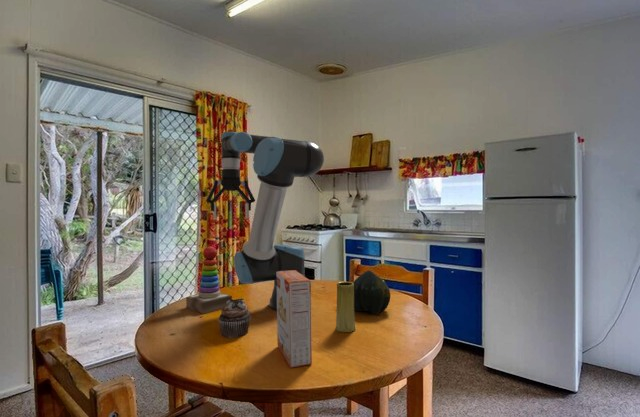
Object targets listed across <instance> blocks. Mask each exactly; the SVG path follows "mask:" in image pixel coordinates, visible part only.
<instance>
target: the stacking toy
mask: <svg viewBox="0 0 640 417" xmlns="http://www.w3.org/2000/svg"><path fill="white" fill-rule="evenodd" d="M202 255H203V257H204V260H203V261H202V264H203V265H202V267H201V269H202V271H201V276H200V280H201V281H200V282H199V285H200V286H199V287H198V294H197V295H199V297H202V298H213V297H217V296H219V295H220V293H221V290H220V285H219V284H220V280H219V275H218V274H219V271H218V265H217V263H218V260H217V259H216V257H217V256H218V250H217V249H216V247H213V246H206V247H205V248H204V249H203V252H202Z"/></svg>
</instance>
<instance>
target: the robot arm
mask: <svg viewBox="0 0 640 417" xmlns="http://www.w3.org/2000/svg"><path fill="white" fill-rule="evenodd" d="M220 143H221V144H220V145H221V146H220V147H221V168H222V170H221V180H218V179H214V181H213V186H212V187H211V190H210V192H209V194H208V196H207V197H206V199H205V201H206V202H207V203H209V204H210V212H213V215H212V217H213V218H212V219H213V220H217V203H215V202H216V201H218V199H219V198H220V197H221V196H222V195H223V193H224V192H225V191H227V192H230V191H231V192H238V194H239V195H240V196H241V197H242V199H244V200H245V202H246V203H245V204H244V206H245V207H244V208H245V219H247V220H248V219H249V217H250V216H249V215H250V214H249V212H250V211H252V203H255V202H256V205H255V208H254V213H253V217H252V218H253V219H252V222H251V227H250V232H249V236H248V241H246V242H244V244H243V245H242V250H241V251H237V252H235V253H234V256H233V257H234V262H233V263H234V269H235V274H236V277H237V279H238V280H239V282H240V283H241V284H243V285H248V284H250V285H253V284H257V283H265V282H272V281H273V289H272V293H271V297H270V299H269V307H270V308H271V309H273V310H276V311H277V283H276V272H278V271H291V270H296V271H297V272H299V273H300V274H301V275H303V276H304V277H305V259H306V258H305V250H304V248H303V247H301V246H297V245H291V244H288V245H287V244H274V243H275V237H276V233H277V230H278V226H279V221H280V218H281V213H282V209H283V205H284V200H285V197H286V194H287V189H288V188H290V187H292V186H293V183H294V181H295V180H294V179H295V178H306V177H307V178H308V177H311V176H314V175H315V174H317V173H318V172H319V171H320V170H321V169H322V167H323V165H324V162H325V156H324V152H323V150H322V149H321V148H320V147H319V145H317V144H315V143H314V142H311V141H307V140H297V139H289V138H287V139H286V138H279V137H276V136H266V135H257V134H256V135H255V134H249V133H248V132H245V131H239V132H236V131H224V132H222V133H221V140H220ZM241 153H243V154H253V157H252V161H253V164H252V166H253V167H252V168H253V170H254V173H255V174H256V176H257V177H256V178H257V179H258V181H259V182H260V185H259V189H258V194H257V199H255V196H254V195H253V193H252V191H251V189H250V187H249V182H248V180H241V170H240V168H241V163H240V162H241V161H240V159H241V158H240V156H241ZM219 185H221V186H222V187H221V188H220V190H219V191H218V192H217V194H216V195H214V194H215V191H216V189H217V187H218V186H219ZM241 186H243V187H244V190H245V192H246V194H247V195H248V196H247V195H246V194H245V193H244V191H243V190H242V189H241ZM213 195H214V197H213Z"/></svg>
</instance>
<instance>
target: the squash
mask: <svg viewBox="0 0 640 417" xmlns="http://www.w3.org/2000/svg"><path fill="white" fill-rule="evenodd" d="M352 283H353V284H354V311H356V312H364V311H366V312H370V313H372V314H373V315H377V314H379V313H382V312H384V311H385V310H386V309H387V308H388V307H389V305H390V300H391V291H390V288H389V286H388V285H387V283H386V282H385V281H384V280H383V279H382V278H380V277H379V276H378V275H377V274H376V273H375V272H374V271H371V270H370V269H368V270H367V271H365V272H363V273H361V274H360V275H359V276H357V277H356V278H355V280H353V282H352Z"/></svg>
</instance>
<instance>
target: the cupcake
mask: <svg viewBox="0 0 640 417" xmlns="http://www.w3.org/2000/svg"><path fill="white" fill-rule="evenodd" d="M226 304H227V305H226V306H225V307H224V308H223V309H221V311H220V313H221V314H220V315H219V317H218V319H217V321H218V325H219V329H220V334H221V336H222V337H224V338H226V339H227V338H228V339H229V338H230V339H234V338H235V339H236V338H241V337H244V336H246V335H247V334H249V327H250V323H251V319H252V315H251V314H252V313H251V312H250V311H249V307H248V305H246V300H244V298H236V299H233V298H232V299H230V300H228V301H227V302H226Z"/></svg>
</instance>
